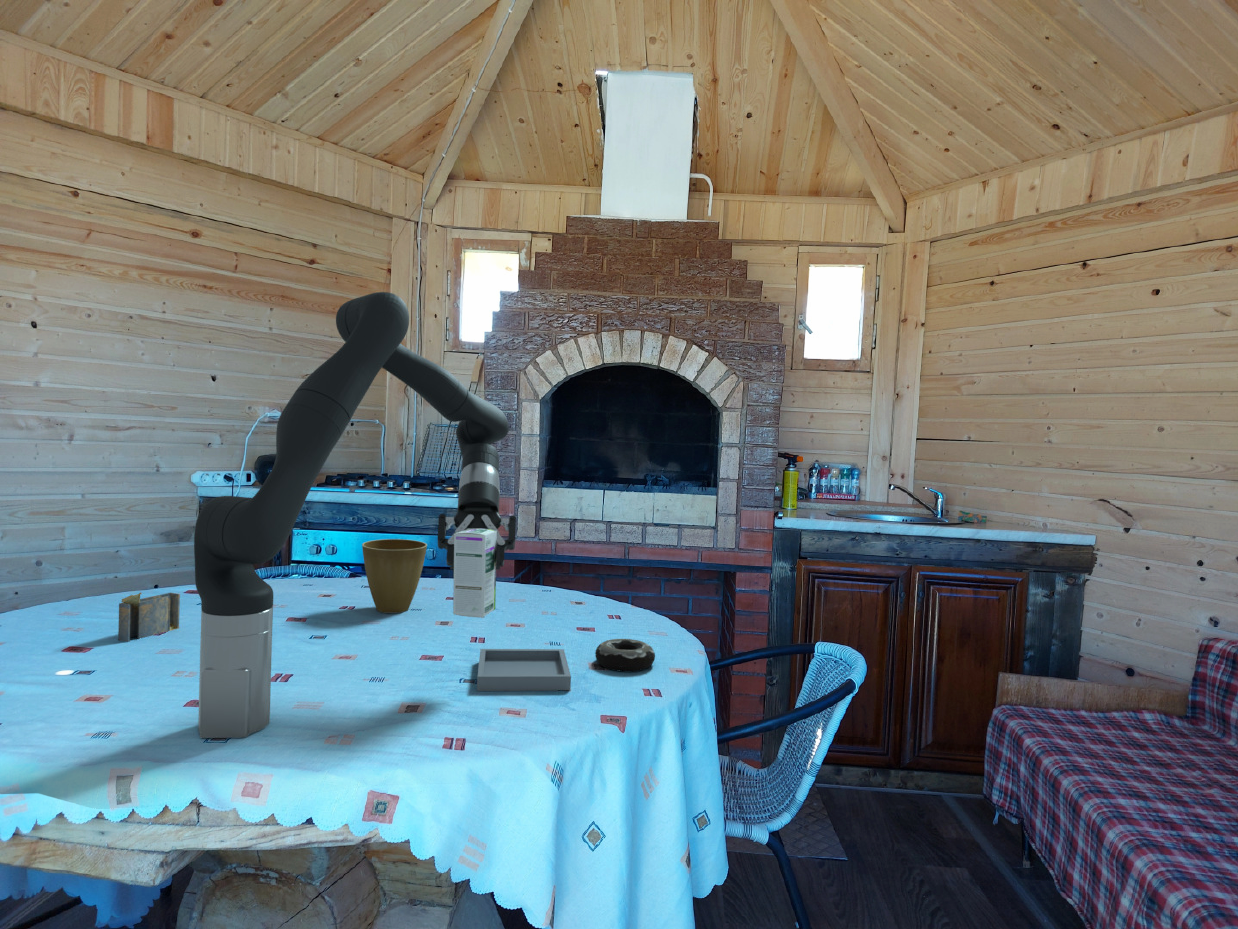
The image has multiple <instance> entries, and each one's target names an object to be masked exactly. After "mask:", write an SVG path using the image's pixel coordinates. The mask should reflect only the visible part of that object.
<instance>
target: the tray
mask: <svg viewBox="0 0 1238 929" xmlns="http://www.w3.org/2000/svg"><path fill="white" fill-rule="evenodd" d="M568 663H569V662H568V660H567V656H566V653H565V649H564V648H557V649H556V648H480V650H479V657H478V667H477V668H478V669H477V677H476V692H514V691H515V692H517V691H518V692H533V691H534V692H539V691H540V692H544V691H547V692H548V691H549V692H551V691H552V692H553V691H554V692H555V691H556V692H559V691H558V690H570V691H571V687H572V686H571V683H572V682H571V680H572V675H571V671H570V666H569V665H568Z"/></svg>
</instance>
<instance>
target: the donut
mask: <svg viewBox="0 0 1238 929" xmlns="http://www.w3.org/2000/svg"><path fill="white" fill-rule="evenodd" d="M595 659H596V661H597V663H598V664H600V666H601V667H604V668H606V669H608V668H609V669H608V670H611V669H614V670H613V671H616V670H620V671H619V672H625V671H631V672H638V671H637V670H640V671H644V670H647V669H648V668H650V667H651V666H652V665H653V663H654V662H655V659H656V653H655V651H654V649H653V647H652V646H651V645H649V644H648V643H646V642H644V641H641V640H638V639H632V638H611V639H607V640H605V641H602V642H601V643H600V644H599V645H598V646H597V647H596V649H595ZM643 669H644V670H643Z"/></svg>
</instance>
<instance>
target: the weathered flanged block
mask: <svg viewBox="0 0 1238 929" xmlns="http://www.w3.org/2000/svg"><path fill="white" fill-rule="evenodd" d="M142 594H143V593H142V592H139V593H138V594H137V593H136V594H131V595H130V594H129V596H127V597H123V598H121V602H120V603H118V630H117V631H118V632H117V634H118V637H117V638H118V640H117V641H119V642H120V641H121V642H125V643H126V642H127V643H129V642H130V640H131V639H130V638H135V637H137V640H141V639H144V638H148V637H151V636H156V635H159V634H162V633H161V632H163V633H167V632H170V631H174V630H179V629H180V610H181V609H180V608H181V607H180V605H181V601H180V600H181V593H177V592H176V593H175V592H167V593H162V594H156V595H153V596H152V595H151V596H148V597H147V596H146V597H143V598H141V595H142ZM158 633H159V634H158ZM155 634H156V635H155ZM140 638H141V639H140Z"/></svg>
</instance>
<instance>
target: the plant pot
mask: <svg viewBox="0 0 1238 929" xmlns="http://www.w3.org/2000/svg"><path fill="white" fill-rule="evenodd" d="M361 546H362V556H363V564H364V568H365V574H366V579H367V583H368V588H369V591H370V594H371V597H372V601H373V603H374V606H375V609H376V611H378V612H380V613H382V614H383V613H384V614H398V613H404V612H406V611H408V610H409V609H410V606H411V604H412V601H413V599H414V597H415V594H416V591H417V589H418V586H419V582H420V579H421V576H422V572H423V568H424V563H425V559H426V558H425V557H426V553H427V547H428V544H427V543H426V542H423V541H419V540H416V539H415V540H414V539H404V538H403V539H402V538H383V539H375V540H374V539H373V540H368V541H365V542H363V543H362V544H361Z"/></svg>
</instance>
